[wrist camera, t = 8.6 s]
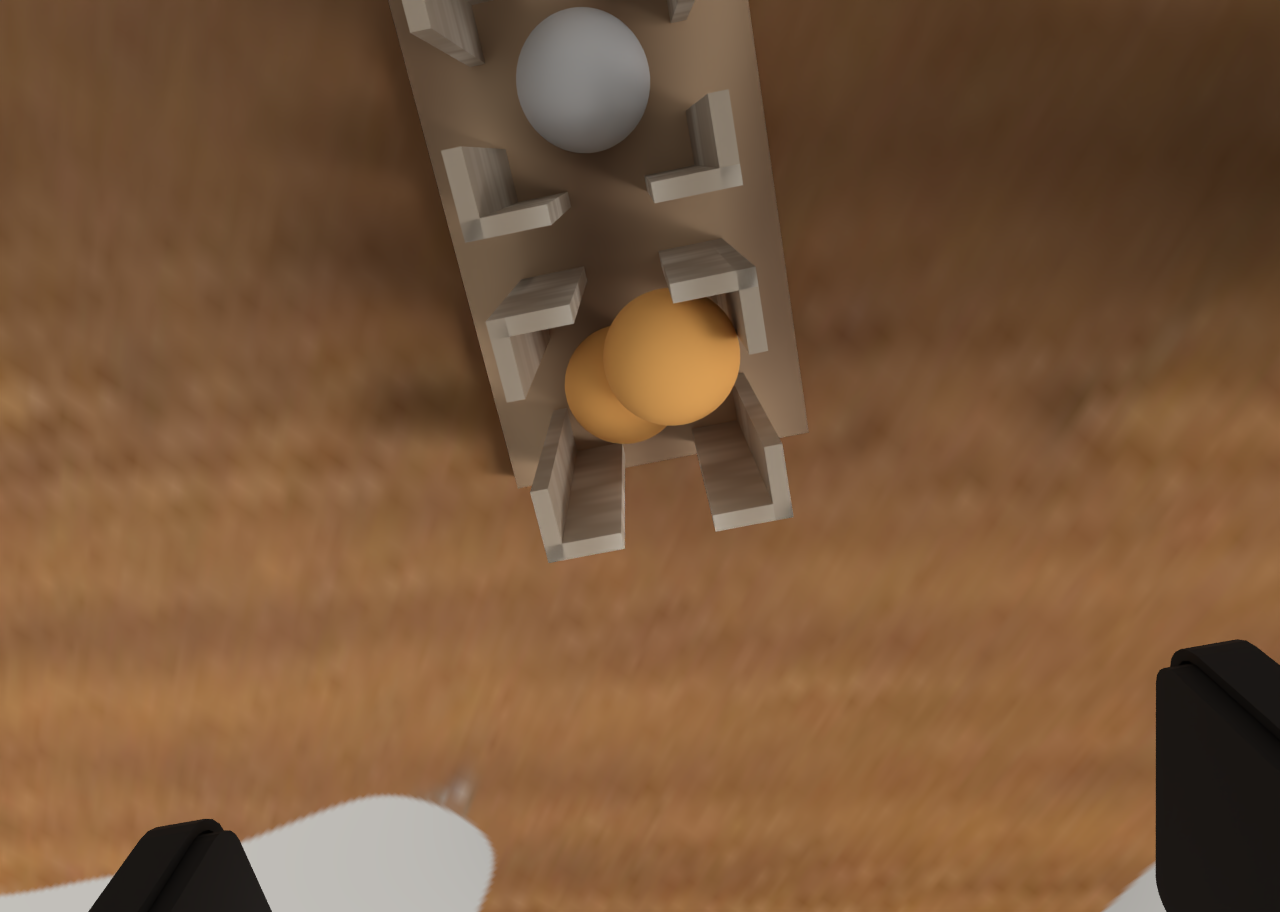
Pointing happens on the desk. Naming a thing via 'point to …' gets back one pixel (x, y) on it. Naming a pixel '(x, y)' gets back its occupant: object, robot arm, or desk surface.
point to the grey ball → (583, 80)
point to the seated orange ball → (601, 397)
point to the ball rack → (612, 247)
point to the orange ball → (671, 358)
